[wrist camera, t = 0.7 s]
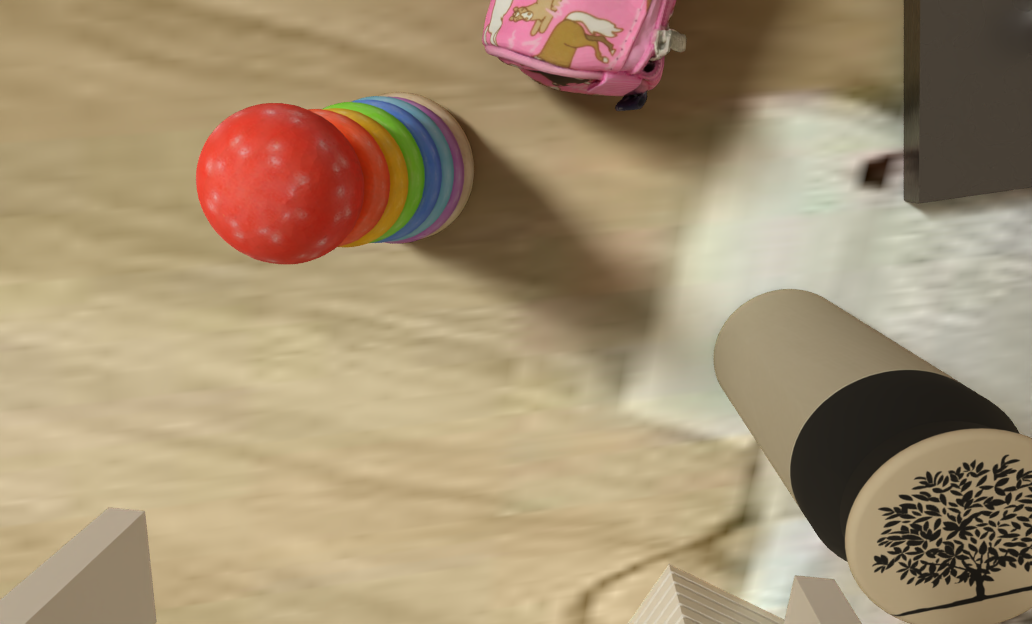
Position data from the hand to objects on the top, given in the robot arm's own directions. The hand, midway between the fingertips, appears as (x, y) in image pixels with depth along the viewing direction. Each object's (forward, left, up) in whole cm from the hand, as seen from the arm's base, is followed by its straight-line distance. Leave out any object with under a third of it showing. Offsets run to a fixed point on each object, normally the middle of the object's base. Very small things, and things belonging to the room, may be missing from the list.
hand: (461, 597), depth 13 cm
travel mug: (+6, +15, -26) cm, 31 cm away
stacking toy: (-8, -5, -26) cm, 28 cm away
